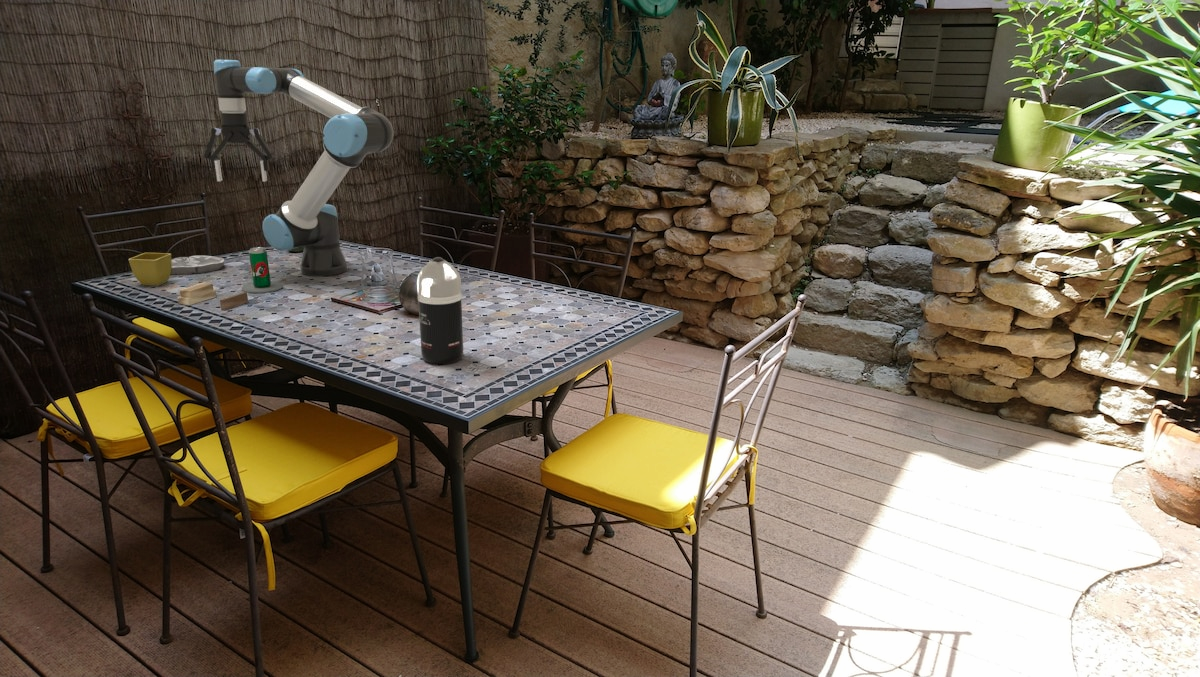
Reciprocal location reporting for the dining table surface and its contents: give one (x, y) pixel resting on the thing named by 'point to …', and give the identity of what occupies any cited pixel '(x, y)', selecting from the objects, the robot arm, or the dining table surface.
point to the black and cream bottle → (440, 312)
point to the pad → (271, 288)
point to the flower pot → (151, 268)
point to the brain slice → (196, 264)
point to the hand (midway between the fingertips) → (242, 181)
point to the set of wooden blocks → (209, 296)
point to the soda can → (259, 267)
